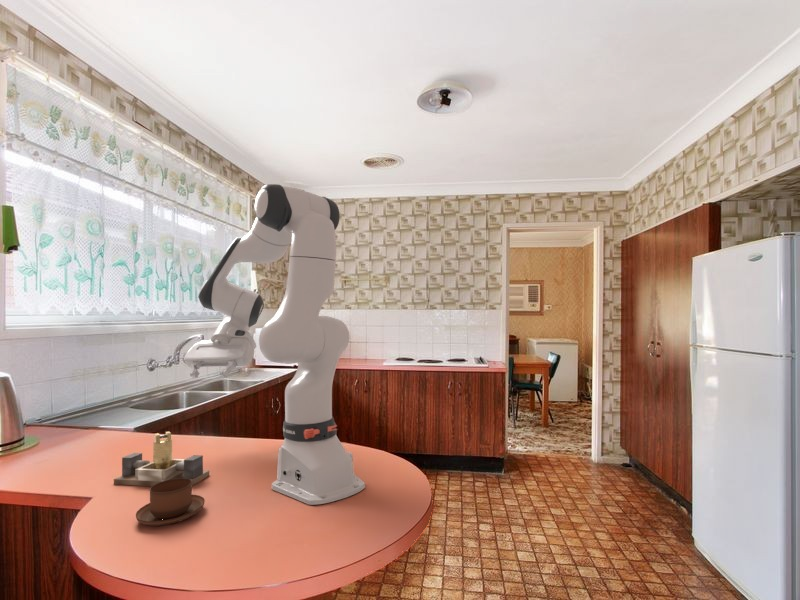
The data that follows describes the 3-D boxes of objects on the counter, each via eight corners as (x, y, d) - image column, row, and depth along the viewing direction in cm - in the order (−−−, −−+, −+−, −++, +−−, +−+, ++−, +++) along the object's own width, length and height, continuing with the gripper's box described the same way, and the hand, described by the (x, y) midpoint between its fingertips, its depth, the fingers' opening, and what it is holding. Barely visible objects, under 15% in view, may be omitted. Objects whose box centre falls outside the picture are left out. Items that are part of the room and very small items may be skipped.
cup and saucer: (127, 518, 83) (127, 487, 83) (190, 498, 92) (190, 469, 92) (147, 538, 75) (147, 503, 75) (214, 514, 84) (214, 483, 84)
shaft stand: (209, 475, 105) (209, 452, 105) (187, 488, 97) (187, 463, 97) (140, 472, 109) (140, 450, 109) (113, 484, 101) (113, 460, 101)
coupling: (173, 474, 103) (173, 433, 103) (155, 479, 100) (154, 436, 101) (170, 470, 106) (170, 430, 106) (152, 474, 103) (152, 433, 104)
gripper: (192, 334, 129) (169, 370, 119) (253, 331, 125) (235, 368, 115) (201, 347, 133) (180, 383, 123) (261, 345, 129) (245, 382, 119)
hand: (208, 376), depth 119 cm, fingers open, 8 cm apart
